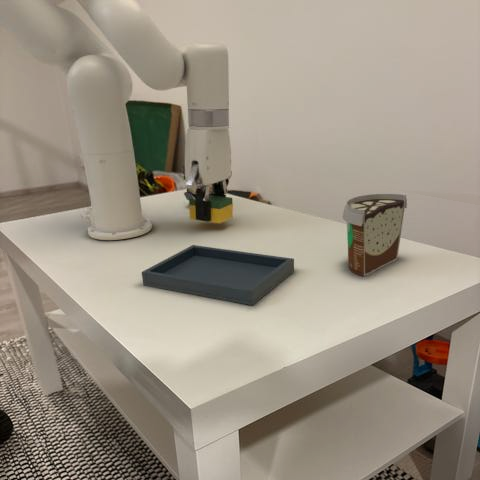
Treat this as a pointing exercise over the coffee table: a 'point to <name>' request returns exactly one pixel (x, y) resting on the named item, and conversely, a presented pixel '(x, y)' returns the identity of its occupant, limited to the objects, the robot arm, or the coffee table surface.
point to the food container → (373, 230)
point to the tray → (220, 273)
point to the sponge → (215, 208)
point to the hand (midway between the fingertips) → (211, 216)
